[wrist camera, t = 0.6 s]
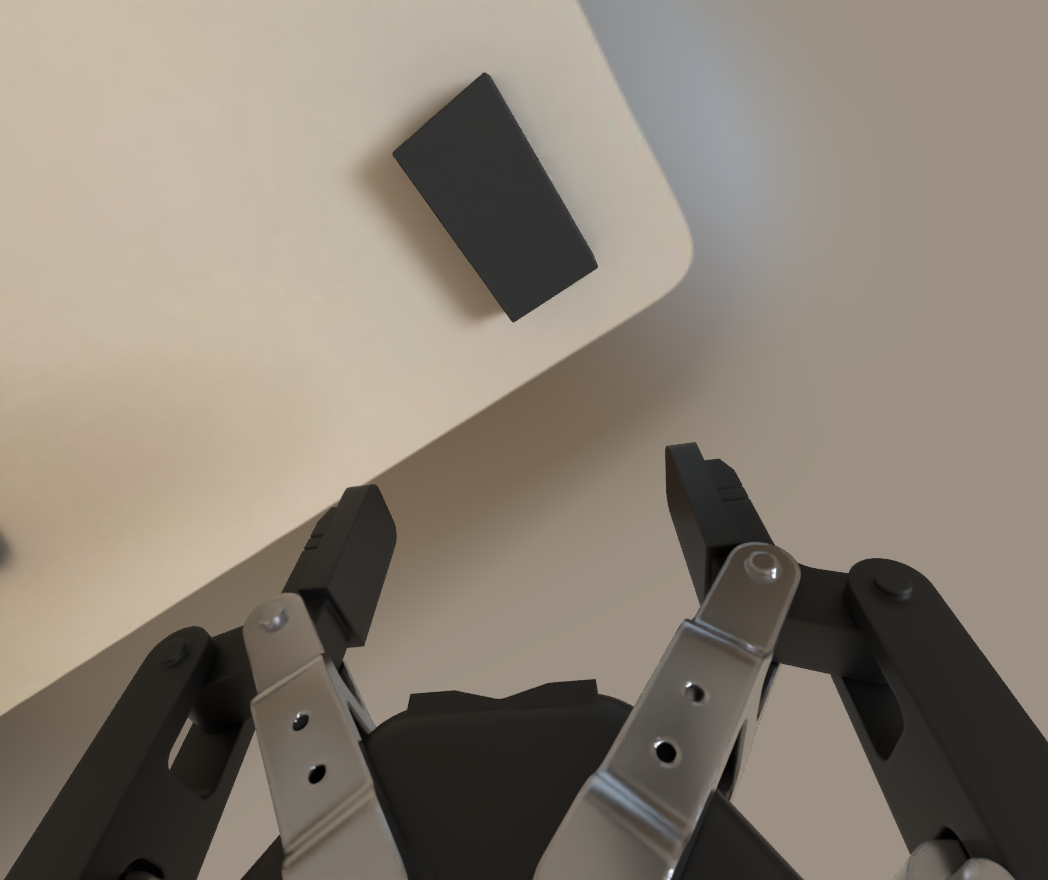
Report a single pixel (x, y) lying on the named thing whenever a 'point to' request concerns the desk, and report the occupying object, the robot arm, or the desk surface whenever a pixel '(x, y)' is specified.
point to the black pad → (496, 199)
